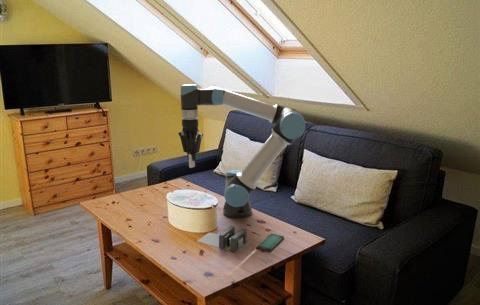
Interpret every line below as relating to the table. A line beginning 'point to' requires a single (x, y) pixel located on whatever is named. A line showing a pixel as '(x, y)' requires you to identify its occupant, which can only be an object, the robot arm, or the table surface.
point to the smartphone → (270, 242)
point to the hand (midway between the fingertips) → (192, 166)
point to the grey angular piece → (220, 239)
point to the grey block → (228, 241)
